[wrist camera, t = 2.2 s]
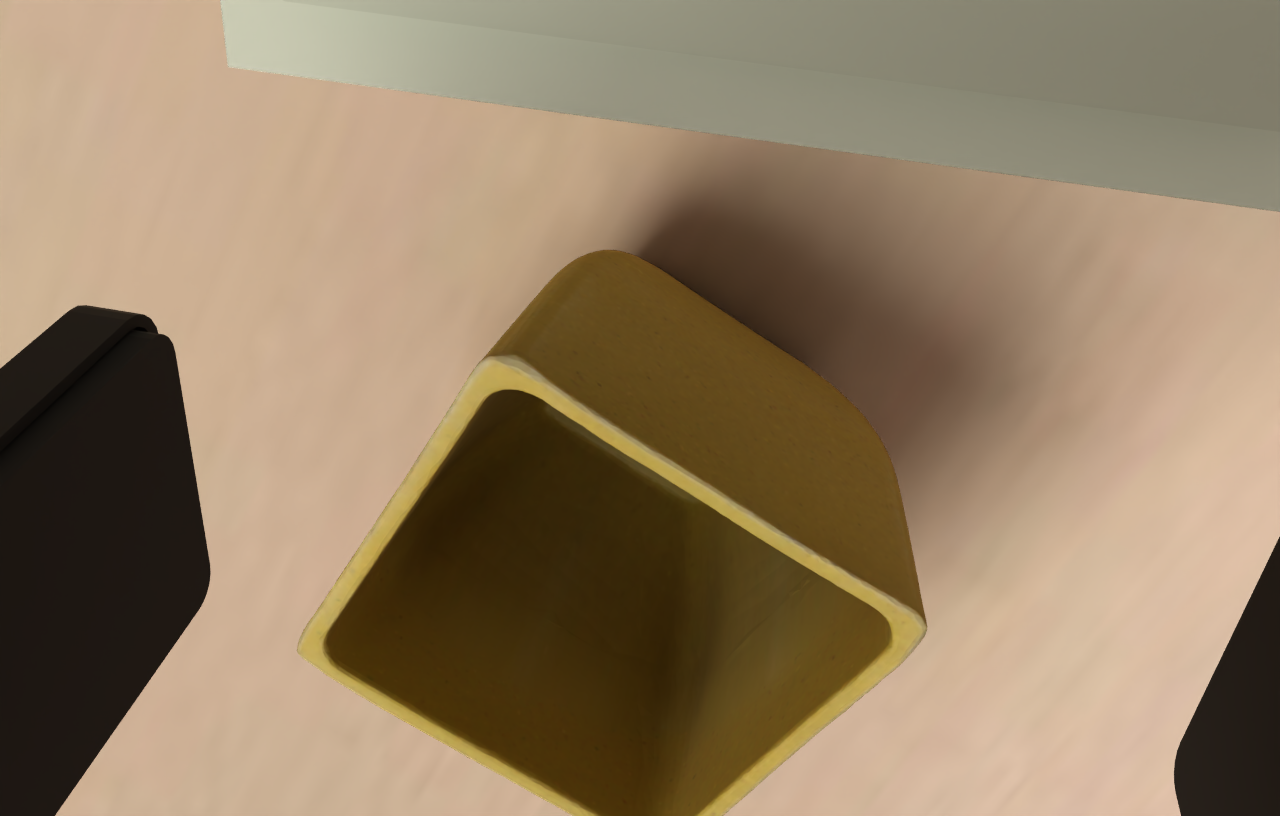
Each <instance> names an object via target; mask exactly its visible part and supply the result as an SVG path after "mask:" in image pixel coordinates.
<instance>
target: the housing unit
mask: <svg viewBox="0 0 1280 816" xmlns="http://www.w3.org/2000/svg"><path fill="white" fill-rule="evenodd" d="M220 2H221V11H222V20H223V28H224V37H225V45H226V54H227V62H228V67H231V68H239V69H246V70H253V71H260V72H268V73H275V74H282V75H289V76H297V77H304V78H311V79H319V80H326V81H333V82H340V83H348V84H355V85H362V86H369V87H377V88H384V89H391V90H398V91H406V92H413V93H420V94H427V95H435V96H442V97H449V98H456V99H464V100H471V101H478V102H485V103H493V104H500V105H507V106H515V107H522V108H529V109H536V110H544V111H551V112H558V113H565V114H573V115H580V116H587V117H594V118H602V119H609V120H616V121H623V122H631V123H638V124H645V125H652V126H660V127H667V128H674V129H681V130H689V131H696V132H703V133H711V134H718V135H725V136H732V137H740V138H747V139H754V140H761V141H769V142H776V143H783V144H790V145H798V146H805V147H812V148H819V149H827V150H834V151H841V152H848V153H856V154H863V155H870V156H877V157H885V158H892V159H899V160H907V161H914V162H921V163H928V164H936V165H943V166H950V167H957V168H965V169H972V170H979V171H986V172H994V173H1001V174H1008V175H1015V176H1023V177H1030V178H1037V179H1044V180H1052V181H1059V182H1066V183H1074V184H1081V185H1088V186H1095V187H1103V188H1110V189H1117V190H1124V191H1132V192H1139V193H1146V194H1153V195H1161V196H1168V197H1175V198H1182V199H1190V200H1197V201H1204V202H1211V203H1219V204H1226V205H1233V206H1240V207H1248V208H1255V209H1262V210H1270V211H1277V212H1280V0H220Z"/></svg>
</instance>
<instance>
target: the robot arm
mask: <svg viewBox="0 0 1280 816" xmlns="http://www.w3.org/2000/svg"><path fill="white" fill-rule="evenodd" d="M209 582H210V562H209V556H208V550H207V544H206V537H205V531H204V525H203V519H202V513H201V507H200V501H199V495H198V488H197V482H196V476H195V470H194V464H193V458H192V452H191V446H190V439H189V433H188V427H187V421H186V415H185V409H184V403H183V397H182V390H181V384H180V378H179V372H178V366H177V360H176V354H175V350H174V346H173V343H172V342H171V340H170V339H169V337H167V336H165V335H163V334H158V331H157V327H156V326H155V324H154V323H153V321H152V320H151V319H150V318H149V317H147V316H145V315H143V314H137V313H131V312H124V311H118V310H112V309H106V308H100V307H93V306H87V305H84V306H77V307H75V308H73V309H71V310H70V311H68V312H67V313H66V314H65V315H63V316H62V317H61V318H60V319H59V320H57V321H56V322H55V323H54V324H53V325H52V326H50V327H49V328H48V329H47V330H46V331H44V332H43V333H42V334H41V335H40V336H38V337H37V338H36V339H35V340H34V341H33V342H31V343H30V344H29V345H28V346H27V347H25V348H24V349H23V350H22V351H21V352H20V353H18V354H17V355H16V356H15V357H14V358H12V359H11V360H10V361H9V362H8V363H6V364H5V365H4V366H3V367H2V368H1V369H0V816H55V815H56V813H57V812H58V810H59V809H60V808H61V806H62V805H63V803H64V802H65V800H66V799H67V798H68V796H69V795H70V793H71V792H72V790H73V789H74V788H75V786H76V785H77V783H78V782H79V780H80V779H81V778H82V776H83V775H84V773H85V772H86V770H87V769H88V768H89V766H90V765H91V763H92V762H93V760H94V759H95V758H96V756H97V755H98V753H99V752H100V750H101V749H102V748H103V746H104V745H105V743H106V742H107V740H108V739H109V738H110V736H111V735H112V733H113V732H114V730H115V729H116V728H117V726H118V725H119V723H120V722H121V720H122V719H123V718H124V716H125V715H126V713H127V712H128V710H129V709H130V708H131V706H132V705H133V703H134V702H135V700H136V699H137V697H138V696H139V695H140V693H141V692H142V690H143V689H144V687H145V686H146V685H147V683H148V682H149V680H150V679H151V677H152V676H153V675H154V673H155V672H156V670H157V669H158V667H159V666H160V665H161V663H162V662H163V660H164V659H165V657H166V656H167V655H168V653H169V652H170V650H171V649H172V647H173V646H174V645H175V643H176V642H177V640H178V639H179V637H180V636H181V635H182V633H183V632H184V630H185V629H186V627H187V626H188V625H189V623H190V622H191V620H192V619H193V617H194V616H195V615H196V613H197V612H198V610H199V609H200V607H201V605H202V603H203V602H204V599H205V597H206V594H207V591H208V587H209ZM1174 784H1175V791H1176V796H1177V800H1178V804H1179V808H1180V813H1181V816H1280V537H1279V539H1278V541H1277V543H1276V545H1275V548H1274V550H1273V552H1272V554H1271V556H1270V558H1269V560H1268V562H1267V564H1266V566H1265V568H1264V570H1263V572H1262V574H1261V577H1260V579H1259V581H1258V583H1257V585H1256V587H1255V589H1254V591H1253V593H1252V595H1251V597H1250V599H1249V601H1248V603H1247V606H1246V608H1245V610H1244V612H1243V614H1242V616H1241V618H1240V620H1239V622H1238V624H1237V626H1236V628H1235V630H1234V632H1233V635H1232V637H1231V639H1230V641H1229V643H1228V645H1227V647H1226V649H1225V651H1224V653H1223V655H1222V657H1221V659H1220V661H1219V664H1218V666H1217V668H1216V670H1215V672H1214V674H1213V676H1212V678H1211V680H1210V682H1209V684H1208V686H1207V688H1206V690H1205V693H1204V695H1203V697H1202V699H1201V701H1200V703H1199V705H1198V707H1197V709H1196V711H1195V713H1194V715H1193V717H1192V719H1191V722H1190V724H1189V726H1188V728H1187V730H1186V732H1185V734H1184V736H1183V738H1182V740H1181V742H1180V745H1179V748H1178V750H1177V755H1176V759H1175V768H1174Z"/></svg>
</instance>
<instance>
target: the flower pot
mask: <svg viewBox="0 0 1280 816" xmlns="http://www.w3.org/2000/svg"><path fill="white" fill-rule="evenodd" d="M926 631H927V623H926V618H925V613H924V608H923V604H922V599H921V594H920V588H919V583H918V577H917V573H916V567H915V562H914V557H913V552H912V547H911V542H910V536H909V531H908V526H907V522H906V517H905V512H904V508H903V503H902V498H901V494H900V489H899V485H898V481H897V477H896V474H895V471H894V468H893V465H892V462H891V459H890V457H889V455H888V453H887V451H886V449H885V447H884V445H883V443H882V441H881V440H880V438H879V436H878V435H877V433H876V432H875V430H874V429H873V428H872V426H871V425H870V423H869V422H868V420H867V419H866V418H865V417H864V416H863V415H862V413H861V412H860V411H859V410H858V409H857V408H856V407H855V406H854V405H853V404H852V403H851V402H850V401H849V400H848V399H847V398H846V397H845V396H844V395H843V394H841V393H840V392H839V391H838V390H837V389H836V388H835V387H834V386H832V385H831V384H830V383H829V382H827V381H826V380H825V379H823V378H822V377H821V376H819V375H818V374H817V373H815V372H814V371H813V370H811V369H810V368H809V367H808V366H806V365H805V364H804V363H802V362H801V361H799V360H797V359H796V358H794V357H793V356H791V355H789V354H788V353H786V352H785V351H783V350H781V349H780V348H778V347H777V346H775V345H774V344H772V343H771V342H769V341H768V340H766V339H765V338H763V337H761V336H760V335H758V334H757V333H755V332H754V331H752V330H751V329H749V328H748V327H746V326H745V325H743V324H742V323H740V322H739V321H737V320H736V319H734V318H732V317H731V316H729V315H728V314H726V313H725V312H723V311H722V310H720V309H719V308H717V307H716V306H714V305H713V304H711V303H710V302H708V301H707V300H706V299H704V298H703V297H701V296H700V295H698V294H697V293H695V292H694V291H692V290H691V289H689V288H688V287H686V286H685V285H683V284H682V283H680V282H679V281H677V280H676V279H675V278H673V277H672V276H670V275H669V274H667V273H666V272H664V271H662V270H661V269H659V268H658V267H656V266H654V265H653V264H651V263H649V262H647V261H645V260H643V259H641V258H639V257H637V256H635V255H632V254H629V253H625V252H622V251H616V250H602V251H596V252H592V253H588V254H586V255H584V256H582V257H579V258H577V259H576V260H574V261H573V262H571V263H570V264H568V265H567V266H565V267H564V268H563V269H562V270H561V271H560V272H558V273H557V274H556V275H555V276H554V277H553V278H552V279H551V281H550V282H549V283H548V284H547V285H546V286H545V287H544V288H543V289H542V290H541V292H540V293H539V294H538V295H537V296H536V297H535V298H534V300H533V301H532V302H531V303H530V304H529V305H528V307H527V308H526V309H525V310H524V311H523V312H522V314H521V315H520V316H519V317H518V318H517V319H516V321H515V322H514V323H513V324H512V325H511V326H510V328H509V329H508V330H507V331H506V332H505V334H504V335H503V336H502V337H501V338H500V340H499V341H498V342H497V343H496V344H495V345H494V347H493V348H492V349H491V350H490V351H489V353H488V354H487V355H486V356H485V357H484V358H483V359H482V360H481V361H480V362H479V363H478V365H477V366H476V368H475V369H474V370H473V372H472V373H471V374H470V376H469V378H468V379H467V381H466V383H465V384H464V386H463V387H462V389H461V391H460V392H459V394H458V396H457V397H456V399H455V401H454V402H453V404H452V405H451V407H450V409H449V410H448V412H447V413H446V415H445V416H444V418H443V420H442V421H441V423H440V424H439V426H438V428H437V429H436V431H435V432H434V434H433V435H432V437H431V438H430V440H429V441H428V443H427V444H426V446H425V448H424V449H423V451H422V452H421V454H420V455H419V457H418V458H417V460H416V462H415V463H414V465H413V466H412V468H411V470H410V471H409V473H408V474H407V476H406V478H405V479H404V481H403V482H402V484H401V485H400V487H399V488H398V490H397V491H396V492H395V494H394V495H393V497H392V498H391V500H390V501H389V503H388V504H387V506H386V507H385V509H384V510H383V512H382V513H381V515H380V517H379V518H378V520H377V521H376V523H375V524H374V526H373V527H372V529H371V530H370V532H369V533H368V535H367V536H366V538H365V539H364V541H363V542H362V544H361V545H360V547H359V548H358V550H357V551H356V553H355V554H354V556H353V557H352V559H351V560H350V562H349V563H348V565H347V566H346V568H345V569H344V571H343V572H342V574H341V575H340V577H339V578H338V580H337V581H336V583H335V585H334V586H333V588H332V589H331V590H330V592H329V593H328V595H327V596H326V598H325V600H324V601H323V603H322V604H321V605H320V607H319V608H318V610H317V611H316V613H315V614H314V616H313V617H312V618H311V620H310V621H309V623H308V624H307V626H306V627H305V629H304V631H303V633H302V635H301V637H300V639H299V642H298V648H297V652H298V654H299V655H300V656H301V657H302V658H303V659H304V660H306V661H307V662H309V663H310V664H311V665H313V666H314V667H316V668H317V669H319V670H320V671H321V672H323V673H324V674H326V675H327V676H329V677H330V678H332V679H333V680H335V681H336V682H338V683H340V684H341V685H343V686H345V687H346V688H348V689H350V690H351V691H353V692H355V693H356V694H358V695H359V696H361V697H363V698H365V699H366V700H368V701H369V702H371V703H373V704H374V705H376V706H378V707H379V708H381V709H383V710H385V711H387V712H388V713H390V714H392V715H394V716H395V717H397V718H399V719H401V720H402V721H404V722H406V723H408V724H410V725H411V726H413V727H415V728H417V729H418V730H420V731H422V732H424V733H426V734H427V735H429V736H431V737H433V738H435V739H436V740H438V741H440V742H442V743H444V744H446V745H447V746H449V747H451V748H453V749H454V750H456V751H458V752H459V753H461V754H463V755H464V756H466V757H468V758H470V759H472V760H474V761H476V762H477V763H479V764H481V765H483V766H484V767H486V768H488V769H490V770H492V771H494V772H495V773H497V774H499V775H501V776H503V777H505V778H506V779H508V780H510V781H512V782H514V783H515V784H517V785H519V786H521V787H522V788H524V789H526V790H528V791H529V792H531V793H533V794H535V795H536V796H538V797H540V798H542V799H544V800H545V801H547V802H549V803H551V804H553V805H555V806H557V807H558V808H560V809H562V810H564V811H565V812H567V813H569V814H571V815H572V816H723V815H724V814H725V813H727V812H728V811H729V810H730V809H731V808H732V807H733V806H734V805H736V804H737V803H738V802H739V801H740V800H742V799H743V798H744V797H745V796H746V795H747V794H749V793H750V792H751V791H752V790H753V789H754V788H755V787H756V786H757V785H759V784H760V783H761V782H762V781H763V780H764V779H765V778H766V777H768V776H769V775H770V774H771V773H772V772H773V771H774V770H776V769H777V768H778V767H779V766H780V765H781V764H782V763H783V762H784V761H786V760H787V759H788V758H790V757H791V756H792V755H793V754H794V753H795V752H797V751H798V750H799V749H800V748H801V747H802V746H804V745H805V744H806V743H807V742H808V741H809V740H811V739H812V738H813V737H814V736H815V735H816V734H818V733H819V732H820V731H821V730H822V729H824V728H825V727H826V726H827V725H829V724H830V723H831V722H832V721H834V720H835V719H836V718H837V717H839V716H840V715H841V714H843V713H844V712H845V711H846V710H847V709H849V708H850V707H851V706H852V705H853V704H854V703H855V702H856V701H858V700H859V699H860V698H862V697H863V696H864V695H865V694H866V693H868V692H869V691H870V690H871V689H872V688H874V687H875V686H876V685H877V684H878V683H879V682H880V681H881V680H882V679H884V678H885V677H886V676H887V675H889V674H890V673H891V672H893V671H894V670H895V669H896V668H897V667H898V666H899V665H900V664H901V663H902V662H903V661H904V660H905V659H906V658H907V657H908V656H909V655H910V654H911V653H912V652H913V651H914V649H915V648H916V647H917V646H918V644H919V643H920V642H921V640H922V639H923V638H924V636H925V634H926Z"/></svg>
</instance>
